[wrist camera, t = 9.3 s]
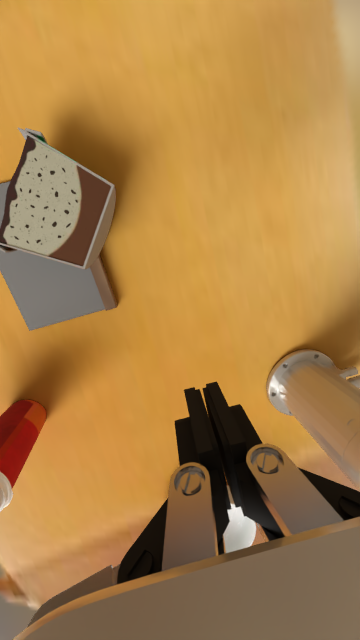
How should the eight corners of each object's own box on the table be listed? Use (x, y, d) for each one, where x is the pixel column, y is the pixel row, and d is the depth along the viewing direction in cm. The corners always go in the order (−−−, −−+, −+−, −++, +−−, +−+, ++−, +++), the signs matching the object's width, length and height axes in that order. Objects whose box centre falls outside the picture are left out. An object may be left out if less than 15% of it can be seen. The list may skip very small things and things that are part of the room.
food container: (126, 190, 31) (46, 152, 29) (119, 170, 25) (19, 121, 23) (93, 280, 33) (16, 249, 31) (79, 282, 27) (-16, 244, 25)
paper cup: (-8, 423, 38) (-91, 517, 25) (13, 385, 37) (-63, 463, 23) (41, 441, 40) (-12, 538, 27) (63, 406, 39) (18, 489, 25)
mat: (55, 171, 30) (53, 170, 29) (105, 308, 35) (105, 309, 35) (-35, 194, 29) (-38, 193, 29) (30, 329, 35) (29, 330, 34)
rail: (69, 167, 30) (65, 163, 28) (117, 305, 35) (116, 307, 34) (57, 170, 30) (52, 166, 28) (107, 308, 35) (105, 310, 34)
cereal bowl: (216, 451, 45) (228, 486, 39) (255, 501, 50) (272, 540, 44) (141, 497, 46) (139, 540, 40) (187, 542, 51) (193, 586, 45)
